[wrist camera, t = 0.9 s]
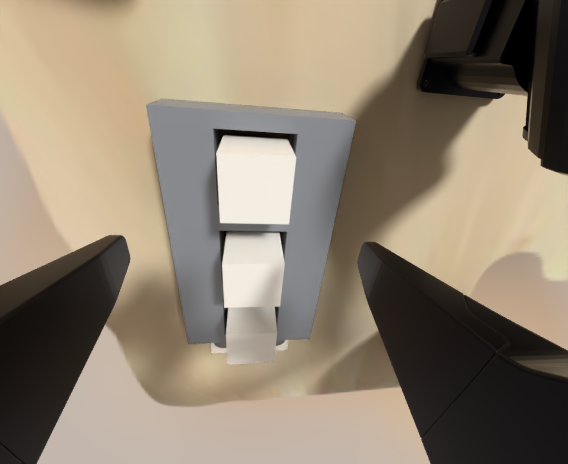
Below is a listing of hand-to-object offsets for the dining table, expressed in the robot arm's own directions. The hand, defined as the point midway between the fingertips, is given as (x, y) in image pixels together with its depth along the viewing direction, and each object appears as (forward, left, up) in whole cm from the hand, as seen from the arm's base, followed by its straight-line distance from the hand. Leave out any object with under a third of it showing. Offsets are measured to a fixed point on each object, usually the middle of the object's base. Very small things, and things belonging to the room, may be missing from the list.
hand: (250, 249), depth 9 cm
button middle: (0, +7, -10) cm, 12 cm away
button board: (0, +7, -12) cm, 14 cm away
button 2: (0, 0, -10) cm, 10 cm away
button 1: (0, +14, -10) cm, 17 cm away
